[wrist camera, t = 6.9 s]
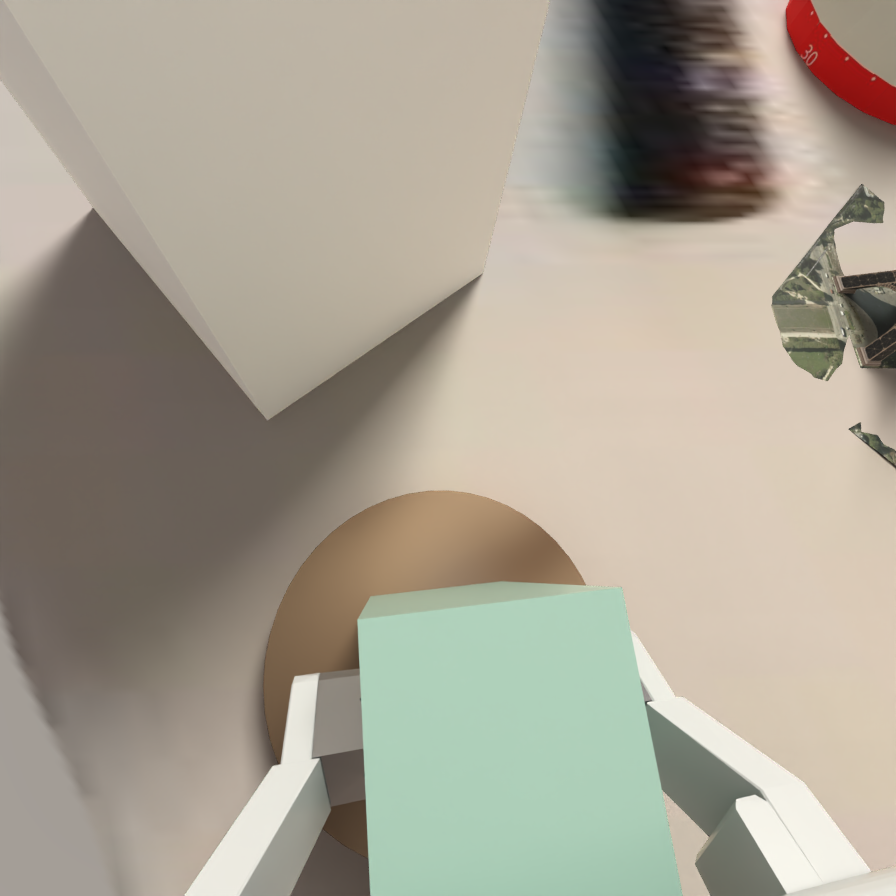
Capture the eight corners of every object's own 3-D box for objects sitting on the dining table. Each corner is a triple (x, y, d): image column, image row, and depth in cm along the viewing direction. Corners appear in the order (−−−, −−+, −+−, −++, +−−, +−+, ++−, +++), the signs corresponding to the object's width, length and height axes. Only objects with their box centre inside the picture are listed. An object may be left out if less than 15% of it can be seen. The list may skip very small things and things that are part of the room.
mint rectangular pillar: (501, 581, 15) (621, 587, 8) (520, 726, 14) (684, 906, 6) (370, 596, 14) (357, 619, 7) (379, 750, 13) (374, 986, 6)
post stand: (640, 624, 17) (808, 657, 10) (463, 926, 14) (540, 1264, 7) (419, 441, 18) (441, 360, 11) (201, 685, 14) (43, 780, 8)
